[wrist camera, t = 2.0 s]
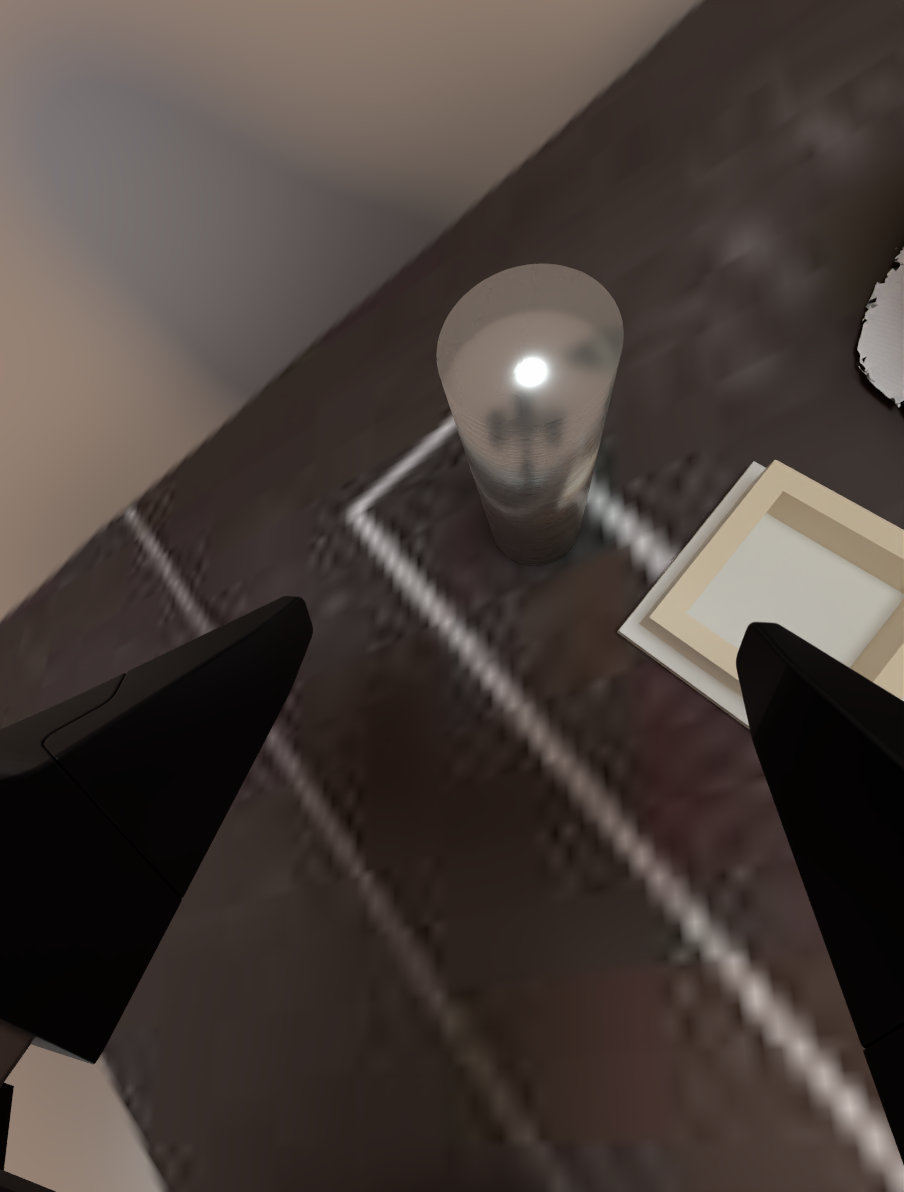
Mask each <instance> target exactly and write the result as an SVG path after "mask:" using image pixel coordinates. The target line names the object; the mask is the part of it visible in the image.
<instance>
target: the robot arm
mask: <svg viewBox="0 0 904 1192" xmlns="http://www.w3.org/2000/svg"><path fill="white" fill-rule="evenodd" d="M312 634H313V626H312V622H311V619H310V616H309V613H308V610H307V606H306V603H305V601H304V600H303V599H302V598H301V597H292V596H284V597H281V598H279V599H277V600H275V601H273V602H271V603H269V604H267V605H265V606H262V607H260V608H258V609H256V610H254V611H252V612H250V613H248V614H246V615H244V616H242V617H240V618H238V619H235V620H233V621H231V622H229V623H227V624H225V625H223V626H221V627H219V628H217V629H215V630H213V631H210V632H208V633H206V634H204V635H202V636H200V637H198V638H196V639H194V640H192V641H190V642H188V643H186V644H183V645H181V646H179V647H177V648H175V649H173V650H171V651H169V652H167V653H165V654H163V655H161V656H158V657H156V658H154V659H152V660H150V661H148V662H146V663H144V664H142V665H140V666H138V667H136V668H134V669H131V670H129V671H128V672H127V674H125V673H123V674H121V675H119V676H117V677H115V678H113V679H110V680H108V681H106V682H104V683H102V684H100V685H98V686H96V687H93V688H91V689H89V690H87V691H85V692H83V693H81V694H78V695H76V696H74V697H72V698H70V699H67V700H65V701H63V702H60V703H58V704H56V705H54V706H51V707H49V708H47V709H44V710H42V711H40V712H37V713H35V714H33V715H30V716H28V717H26V718H23V719H21V720H19V721H16V722H14V723H12V724H9V725H7V726H5V727H2V728H0V1192H55V1191H53V1190H50V1189H48V1188H46V1187H43V1186H40V1185H38V1184H35V1183H33V1182H31V1181H28V1180H26V1179H23V1178H21V1177H18V1176H16V1175H13V1174H11V1173H8V1172H6V1171H4V1164H5V1155H6V1147H7V1138H8V1129H9V1122H10V1112H11V1104H12V1096H13V1088H14V1086H12V1085H9V1084H6V1083H4V1082H5V1080H6V1079H7V1077H8V1076H9V1074H10V1073H11V1071H12V1070H13V1069H14V1067H15V1066H16V1064H17V1063H18V1062H19V1060H20V1059H21V1057H22V1055H23V1054H24V1053H25V1052H26V1050H27V1049H28V1047H29V1046H30V1044H32V1045H35V1046H38V1047H41V1048H44V1049H47V1050H50V1051H53V1052H57V1053H60V1054H63V1055H66V1056H69V1057H72V1058H75V1059H78V1060H81V1061H84V1062H87V1063H90V1064H95V1063H96V1061H97V1060H98V1058H99V1057H100V1055H101V1053H102V1052H103V1050H104V1048H105V1046H106V1045H107V1043H108V1041H109V1039H110V1037H111V1035H112V1033H113V1031H114V1029H115V1028H116V1026H117V1024H118V1022H119V1020H120V1018H121V1016H122V1014H123V1012H124V1010H125V1008H126V1006H127V1005H128V1003H129V1001H130V999H131V997H132V995H133V993H134V991H135V989H136V987H137V985H138V983H139V981H140V980H141V978H142V976H143V974H144V972H145V970H146V968H147V966H148V964H149V962H150V960H151V958H152V957H153V955H154V953H155V951H156V949H157V947H158V945H159V943H160V941H161V939H162V937H163V936H164V934H165V932H166V930H167V928H168V926H169V924H170V922H171V920H172V918H173V916H174V915H175V913H176V911H177V909H178V907H179V905H180V903H181V901H182V899H181V898H183V897H184V895H185V893H186V891H187V889H188V887H189V885H190V883H191V881H192V879H193V878H194V876H195V874H196V872H197V870H198V868H199V866H200V864H201V862H202V860H203V858H204V856H205V855H206V853H207V851H208V849H209V847H210V845H211V843H212V841H213V839H214V837H215V835H216V834H217V832H218V830H219V828H220V826H221V824H222V822H223V820H224V818H225V816H226V814H227V812H228V811H229V809H230V807H231V805H232V803H233V801H234V799H235V797H236V795H237V793H238V791H239V789H240V788H241V786H242V784H243V782H244V780H245V778H246V776H247V774H248V772H249V770H250V768H251V767H252V765H253V763H254V761H255V759H256V757H257V755H258V753H259V751H260V749H261V747H262V745H263V744H264V742H265V740H266V738H267V736H268V734H269V732H270V730H271V728H272V726H273V724H274V722H275V721H276V719H277V717H278V715H279V713H280V711H281V709H282V707H283V705H284V703H285V701H286V699H287V697H288V695H289V693H290V691H291V689H292V686H293V684H294V681H295V679H296V676H297V674H298V671H299V669H300V666H301V664H302V661H303V658H304V656H305V653H306V651H307V648H308V646H309V643H310V641H311V638H312ZM736 669H737V674H738V678H739V683H740V687H741V692H742V697H743V701H744V706H745V710H746V715H747V719H748V724H749V728H750V732H751V736H752V740H753V743H754V746H755V749H756V753H757V755H758V758H759V761H760V764H761V767H762V769H763V772H764V775H765V778H766V780H767V783H768V786H769V789H770V792H771V794H772V797H773V800H774V803H775V806H776V808H777V811H778V814H779V817H780V820H781V822H782V825H783V828H784V831H785V834H786V836H787V839H788V842H789V845H790V847H791V850H792V853H793V856H794V859H795V861H796V864H797V867H798V870H799V873H800V875H801V878H802V881H803V884H804V887H805V889H806V892H807V895H808V898H809V901H810V903H811V906H812V909H813V912H814V914H815V917H816V920H817V923H818V926H819V928H820V931H821V934H822V937H823V940H824V942H825V945H826V948H827V951H828V954H829V956H830V959H831V962H832V965H833V968H834V970H835V973H836V976H837V979H838V981H839V984H840V987H841V990H842V993H843V995H844V998H845V1001H846V1004H847V1007H848V1009H849V1012H850V1015H851V1018H852V1021H853V1023H854V1026H855V1029H856V1032H857V1035H858V1037H859V1040H860V1043H861V1045H862V1046H863V1047H864V1048H865V1049H864V1050H863V1052H864V1055H865V1058H866V1061H867V1064H868V1066H869V1069H870V1072H871V1075H872V1078H873V1080H874V1083H875V1086H876V1089H877V1092H878V1094H879V1097H880V1100H881V1103H882V1106H883V1108H884V1111H885V1114H886V1117H887V1119H888V1122H889V1125H890V1128H891V1131H892V1133H893V1136H894V1139H895V1142H896V1145H897V1147H898V1150H899V1153H900V1156H901V1159H902V1161H903V1164H904V701H903V700H901V699H899V698H898V697H896V696H895V695H893V694H891V693H890V692H888V691H886V690H885V689H883V688H882V687H880V686H878V685H877V684H875V683H873V682H872V681H870V680H869V679H867V678H865V677H864V676H862V675H861V674H859V673H857V672H856V671H854V670H852V669H851V668H849V667H848V666H846V665H844V664H843V663H841V662H839V661H838V660H836V659H835V658H833V657H831V656H830V655H828V654H827V653H825V652H823V651H822V650H820V649H818V648H817V647H815V646H814V645H812V644H810V643H809V642H807V641H805V640H804V639H802V638H801V637H799V636H797V635H796V634H794V633H793V632H791V631H789V630H788V629H786V628H784V627H783V626H781V625H779V624H777V623H771V622H752V623H750V624H749V625H748V627H747V629H746V631H745V634H744V637H743V640H742V642H741V645H740V648H739V650H738V653H737V657H736Z"/></svg>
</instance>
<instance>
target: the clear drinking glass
mask: <svg viewBox="0 0 904 1192" xmlns="http://www.w3.org/2000/svg"><path fill="white" fill-rule="evenodd" d="M623 334H624V332H623V323H622V318H621V315H620V311H619V309H618V307H617V305H616V303H615V301H614V299H613V298H612V296H611V295H610V293H609V292H608V291H607V290H606V289H605V288H604V287H603V286H602V285H601V284H600V283H599V282H597V281H596V280H595V279H593V278H592V277H590V276H588V275H587V274H585V273H583V272H580V271H578V270H576V269H573V268H569V267H566V266H561V265H554V264H530V265H523V266H518V267H514V268H511V269H507V270H504V271H502V272H499V273H497V274H495V275H493V276H491V277H489V278H487V279H485V280H483V281H482V282H480V283H479V284H478V285H476V286H475V287H473V288H472V289H471V290H470V291H469V292H467V293H466V294H465V295H464V296H463V297H462V298H461V299H460V300H459V302H458V303H457V304H456V305H455V306H454V308H453V309H452V311H451V312H450V314H449V315H448V317H447V319H446V321H445V323H444V325H443V327H442V330H441V332H440V336H439V340H438V346H437V366H438V372H439V375H440V378H441V381H442V384H443V387H444V390H445V393H446V396H447V399H448V402H449V405H450V408H451V411H452V414H453V417H454V420H455V423H456V426H457V429H458V432H459V435H460V438H461V441H462V444H463V447H464V450H465V453H466V456H467V459H468V462H469V465H470V468H471V471H472V474H473V477H474V480H475V483H476V486H477V489H478V492H479V495H480V498H481V501H482V504H483V507H484V510H485V513H486V516H487V519H488V522H489V525H490V528H491V531H492V534H493V537H494V540H495V542H496V544H497V546H498V547H499V549H500V550H501V551H502V552H503V554H505V555H506V556H507V557H508V558H510V559H511V560H513V561H515V562H517V563H520V564H524V565H530V566H539V565H545V564H549V563H552V562H554V561H556V560H558V559H560V558H561V557H563V556H564V555H565V554H566V553H567V552H568V551H569V550H570V549H571V548H572V546H573V545H574V543H575V541H576V540H577V537H578V534H579V530H580V526H581V522H582V518H583V513H584V509H585V505H586V501H587V496H588V492H589V488H590V484H591V479H592V475H593V471H594V466H595V462H596V458H597V454H598V449H599V445H600V441H601V437H602V432H603V428H604V424H605V420H606V415H607V411H608V407H609V403H610V398H611V394H612V390H613V386H614V381H615V377H616V373H617V369H618V364H619V360H620V356H621V351H622V346H623Z"/></svg>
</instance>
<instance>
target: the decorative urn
mask: <svg viewBox="0 0 904 1192" xmlns="http://www.w3.org/2000/svg"><path fill="white" fill-rule="evenodd" d="M902 248H903V249H904V245H903V247H902ZM895 250H896V249H895ZM894 262H899V263H900V267H899V268H892V269H891V270H890V271H889V273H888V274H887V276H888V277H887V278H886V279H885V283H882V284H879V283H878V282H877V284H876V286H875V289H874V292H873V294H872V296H871V298H870V300H869V302H868V304H867V306H866V308H868V311H867V312H866V313H865V317H864V319H867V321H866V322H865V323H864V324H863V329H862V333H861V337H860V339H859V343H858V349H857V350H858V352H859V353H860V363H861V364H862V365H863V366H864V367H865V368H866V369H865V371H866V372H864V373H865V374H866V375H867V379H868V380H869V381H870V382H871V383H873V385H874V386H875V387H876V388H877V389H879V390H880V391H881V392H882V393H883V394H884V395H886V396H887V397H888V398H890V399H891V400H892V401H893V402H894V403H895V404H896V405H897V406H898V407H900V406H901V405H900V402H902V401H904V250H902V251H900V254H899V255H898V256H896V258H895V260H894ZM875 298H877V299H876V302H875V303H873V304H872V301H873V300H874V299H875ZM864 319H863V320H864ZM863 320H862V322H863ZM866 356H867V357H866ZM865 357H866V359H865V362H864V363H863V361H862V359H863V358H865ZM859 368H860V366H859ZM861 371H862V370H861ZM862 372H863V371H862Z"/></svg>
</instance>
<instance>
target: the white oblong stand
mask: <svg viewBox="0 0 904 1192" xmlns="http://www.w3.org/2000/svg"><path fill="white" fill-rule="evenodd" d="M752 622H771V623H777V624H779V625H781V626H783V627H784V628H786V629H788V630H789V631H791V632H793V633H794V634H796V635H797V636H799V637H801V638H802V639H804V640H805V641H807V642H809V643H810V644H812V645H814V646H815V647H817V648H818V649H820V650H822V651H823V652H825V653H827V654H828V655H830V656H831V657H833V658H835V659H836V660H838V661H839V662H841V663H843V664H844V665H846V666H848V667H849V668H851V669H852V670H854V671H856V672H857V673H859V674H861V675H862V676H864V677H865V678H867V679H869V680H870V681H872V682H873V683H875V684H877V685H878V686H880V687H882V688H883V689H885V690H886V691H888V692H890V693H891V694H893V695H895V696H896V697H898V698H899V699H901V700H903V701H904V530H903V529H901V528H899V527H897V526H895V525H893V524H892V523H890V522H888V521H886V520H884V519H883V518H881V517H879V516H877V515H875V514H873V513H872V512H870V511H868V510H866V509H864V508H863V507H861V506H859V505H857V504H855V503H853V502H852V501H850V500H848V499H846V498H844V497H843V496H841V495H839V494H837V493H835V492H834V491H832V490H830V489H828V488H826V487H824V486H823V485H821V484H819V483H817V482H815V481H814V480H812V479H810V478H808V477H806V476H804V475H803V474H801V473H799V472H797V471H795V470H794V469H792V468H790V467H788V466H786V465H784V464H783V463H781V462H779V461H777V460H774V461H773V462H772V463H771V464H770V465H769V466H768V467H767V468H765V467H763V466H761V465H760V464H758V463H756V462H753V463H752V464H751V465H750V466H749V467H748V468H747V470H746V471H745V472H744V473H743V475H742V476H741V477H740V478H739V480H738V481H737V482H736V483H735V485H734V486H733V487H732V488H731V490H730V491H729V492H728V493H727V495H726V496H725V497H724V498H723V500H722V501H721V502H720V503H719V505H718V506H717V507H716V508H715V510H714V511H713V512H712V513H711V515H710V516H709V517H708V518H707V520H706V521H705V522H704V523H703V525H702V526H701V527H700V528H699V530H698V531H697V532H696V533H695V535H694V536H693V537H692V538H691V540H690V541H689V542H688V543H687V545H686V546H685V547H684V548H683V550H682V551H681V552H680V553H679V555H678V556H677V557H676V558H675V560H674V561H673V562H672V563H671V565H670V566H669V567H668V568H667V570H666V571H665V572H664V573H663V575H662V576H661V577H660V578H659V580H658V581H657V582H656V583H655V585H654V586H653V587H652V588H651V590H650V591H649V592H648V593H647V595H646V596H645V597H644V598H643V600H642V601H641V602H640V603H639V605H638V606H637V607H636V608H635V610H634V611H633V612H632V613H631V615H630V616H629V617H628V618H627V620H626V621H625V622H624V623H623V625H622V626H621V627H620V628H619V630H618V631H617V633H618V634H620V635H621V636H622V637H624V638H625V639H627V640H628V641H629V642H631V643H632V644H633V645H635V646H636V647H637V648H639V649H640V650H642V651H643V652H644V653H646V654H647V655H648V656H650V657H651V658H652V659H654V660H655V661H656V662H658V663H659V664H661V665H662V666H663V667H665V668H666V669H667V670H669V671H670V672H671V673H673V674H674V675H676V676H677V677H678V678H680V679H681V680H682V681H684V682H685V683H686V684H688V685H689V686H690V687H692V688H693V689H695V690H696V691H697V692H699V693H700V694H701V695H703V696H704V697H705V698H707V699H708V700H710V701H711V702H712V703H714V704H715V705H716V706H718V707H719V708H720V709H722V710H723V711H725V712H726V713H727V714H729V715H730V716H731V717H733V718H734V719H735V720H737V721H738V722H739V723H741V724H742V725H744V726H745V727H746V728H748V729H749V730H750V728H749V724H748V719H747V715H746V710H745V706H744V701H743V697H742V692H741V687H740V683H739V678H738V674H737V669H736V657H737V653H738V650H739V648H740V645H741V642H742V640H743V637H744V634H745V631H746V629H747V627H748V625H749V624H750V623H752Z"/></svg>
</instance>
